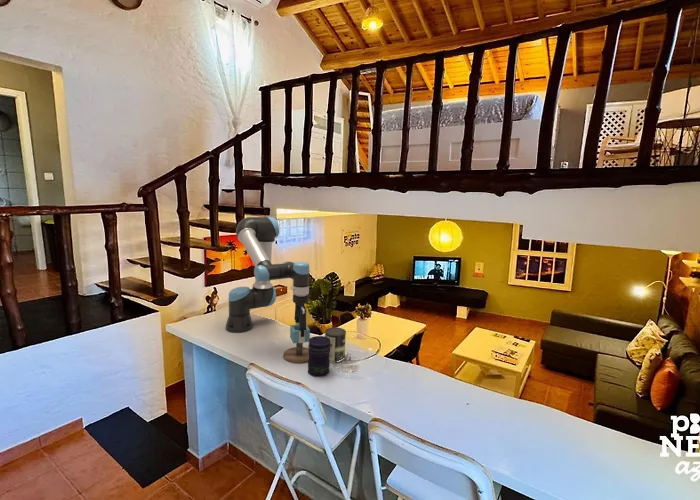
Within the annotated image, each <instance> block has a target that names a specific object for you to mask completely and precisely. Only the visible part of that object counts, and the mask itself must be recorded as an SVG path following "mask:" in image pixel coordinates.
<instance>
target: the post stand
mask: <svg viewBox="0 0 700 500" xmlns="http://www.w3.org/2000/svg"><path fill="white" fill-rule="evenodd" d="M303 344H304V343H295V345H296V347H291V348H287V349H285V351H283V352H282V357H283V358H282V359H284V360H285V361H286V362H288V363H291V364H305V363H308V359H309V352H308V347H304V345H303Z"/></svg>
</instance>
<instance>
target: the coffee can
mask: <svg viewBox="0 0 700 500" xmlns="http://www.w3.org/2000/svg"><path fill="white" fill-rule="evenodd" d="M346 335H347V331H346V330H345V329H344V328H341V327H328V328H326V329H325V330H324V337H327V338H329V339H330V353H329V360H330V363H331V364H336V363H335V362H337V361H339V360H341V359H343V358H344V357H345V356H346V355H345V353H346ZM345 358H346V357H345Z"/></svg>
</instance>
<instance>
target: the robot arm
mask: <svg viewBox="0 0 700 500" xmlns="http://www.w3.org/2000/svg"><path fill="white" fill-rule="evenodd" d="M235 235H236V238H237V240H238V241H239V242H240V244H241V243H242V245H243V248H245V250H246V252H247V254H248V256H249V257H250V259H251V261H252V263H253V265H254V269H253V275H254V279H255V282H254V283H253V284H252V287H251V288H250V287H249V286H238V287H235V288H232V289H230V291H229V292H228V299H227V300H228V317H227V319H226V323H225V330H226V331H227V332H230V333H245V332H248V331H251V330H252V329H253V328H254V322H253V319H252V316H251V310H253V309H260V308H267V307H270V306H272V305H274V304H275V301H276V299H277V293H276V291H277V290H276V287H275V286H273V283H272V282H271V281H275V280H276V281H277V280H284V279H292V283H293V284H292V286H293V287H292V288H291V290H292V293H293V294H292V303H293V304H295V307H294V322H295V324H294V325H300V329H298V331H299V343H303V344H304V343H306V342H305V330H306V325H307V309H306V306H305V304H308V303H309V299H310V298H309V294H310V263H308V262H307V261H296V262H293V261H287V260H286V261H284V262H283V263H275V264H273V263H272V253H273V251H272V250H273V249H272V248H273V243H274V242H275V241H276V238H277V237H279V235H280V226H279V223H278V221H277V219H276V218H275V217H273V216H247V217H245V218H242V219H241V220H240V221H239V222H238V224H237V226H236V228H235Z"/></svg>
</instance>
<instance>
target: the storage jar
mask: <svg viewBox="0 0 700 500" xmlns="http://www.w3.org/2000/svg"><path fill="white" fill-rule="evenodd" d="M307 348H308V352H309V359H308V362H307V374H308V375H310V376H311V377H315V378H321V377H322V378H323V377H325V376H327V375H329V373H330V360H329V353H330V339H329V338H327V337H325V335H321V336H320V335H316V336H312V337H310V339H309V342H308V347H307Z"/></svg>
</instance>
